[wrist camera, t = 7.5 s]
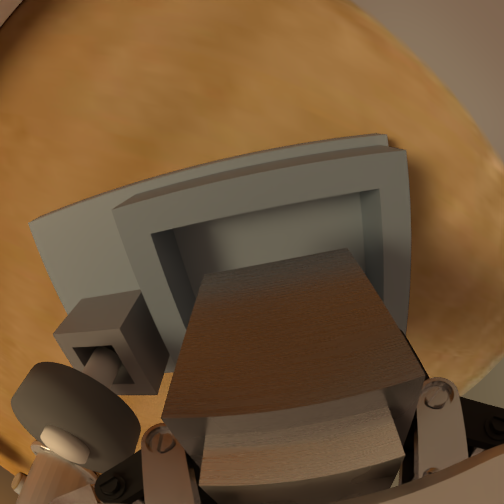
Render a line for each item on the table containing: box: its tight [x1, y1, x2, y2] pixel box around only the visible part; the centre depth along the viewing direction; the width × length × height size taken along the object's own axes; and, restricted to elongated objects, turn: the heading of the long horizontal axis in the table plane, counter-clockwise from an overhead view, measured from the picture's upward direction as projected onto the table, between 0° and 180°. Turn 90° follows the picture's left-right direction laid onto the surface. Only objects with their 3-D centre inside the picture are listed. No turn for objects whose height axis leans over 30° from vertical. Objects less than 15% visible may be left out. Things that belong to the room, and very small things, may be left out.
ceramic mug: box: [11, 473, 27, 494], centre depth 42 cm, size 11×8×8 cm
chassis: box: [28, 133, 411, 395], centre depth 16 cm, size 13×22×6 cm, turn 102°
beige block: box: [161, 248, 425, 504], centre depth 8 cm, size 5×6×7 cm
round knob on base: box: [11, 347, 141, 473], centre depth 12 cm, size 6×6×7 cm
